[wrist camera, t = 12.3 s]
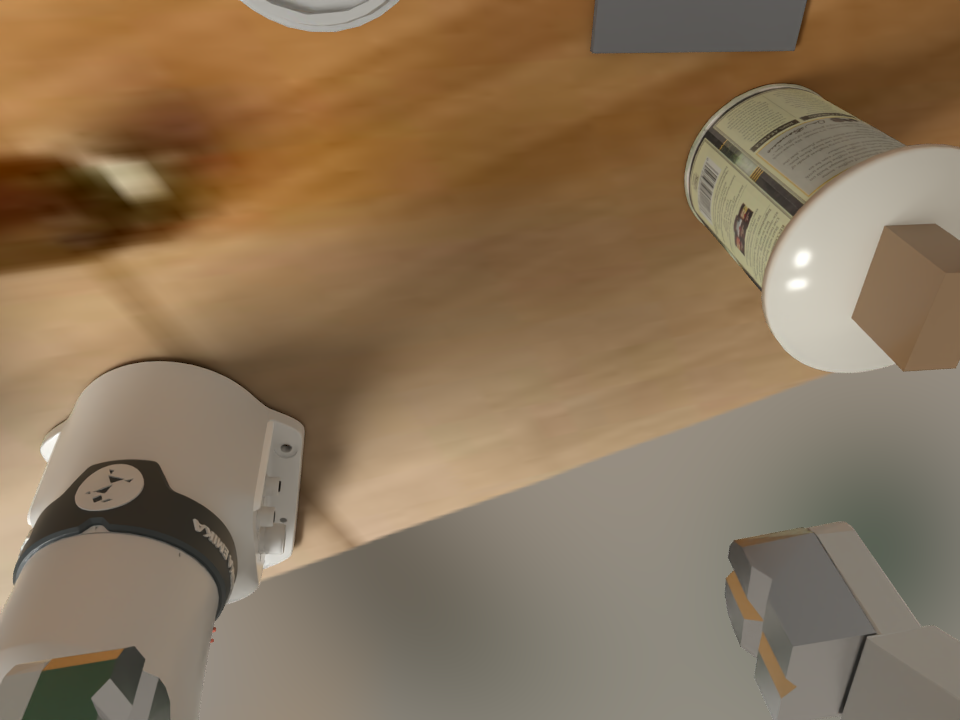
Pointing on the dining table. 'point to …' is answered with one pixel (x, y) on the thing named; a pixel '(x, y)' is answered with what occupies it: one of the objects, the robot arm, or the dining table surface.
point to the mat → (695, 25)
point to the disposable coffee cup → (321, 12)
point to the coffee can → (770, 165)
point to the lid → (873, 267)
